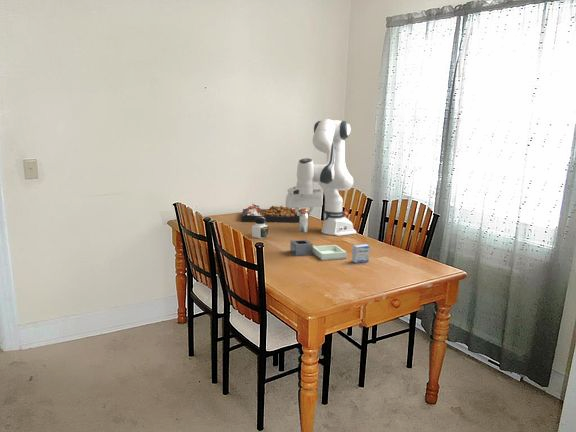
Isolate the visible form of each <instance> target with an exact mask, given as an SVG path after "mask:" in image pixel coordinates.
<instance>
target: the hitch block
mask: <svg viewBox="0 0 576 432" xmlns="http://www.w3.org/2000/svg"><path fill="white" fill-rule="evenodd" d="M289 242H290V243H289V244H290V245H289V247H290V248H289V249H290V250H289V251H290V252H291V253H292V254H293V255H294V256H295V257H302V256H303V257H304V256H313V253H312V252H313V246H314V244H313V243H312V242H311V241H309V240H308V239H294V240H293V239H292V240H290V241H289Z"/></svg>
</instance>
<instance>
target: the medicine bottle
mask: <svg viewBox="0 0 576 432" xmlns="http://www.w3.org/2000/svg"><path fill="white" fill-rule="evenodd" d="M268 237H269V225H267V224H266V222H265V218H264V217H257V218H255V222H254V224H253V225H251V238H254V239H260V240H261V239H265V238H268Z"/></svg>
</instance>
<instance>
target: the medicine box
mask: <svg viewBox="0 0 576 432" xmlns="http://www.w3.org/2000/svg"><path fill="white" fill-rule="evenodd" d="M351 247H352V248H351V249H352V251H351V262H353V263H356V264H361V263H367V262H369V260H370V259H369V258H370V245H369V244H366V243H363V244H355V245H352V246H351Z"/></svg>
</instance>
